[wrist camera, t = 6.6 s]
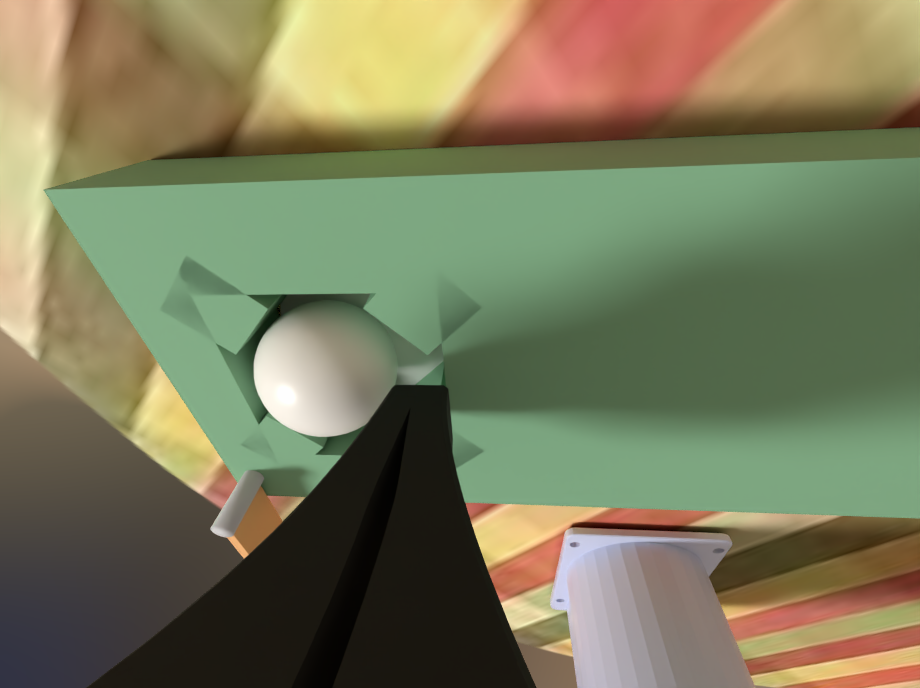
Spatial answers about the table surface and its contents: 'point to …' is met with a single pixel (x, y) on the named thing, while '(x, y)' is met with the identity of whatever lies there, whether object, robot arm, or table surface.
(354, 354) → the ball
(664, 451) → the green board with hole
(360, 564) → the robot arm
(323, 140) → the table surface
